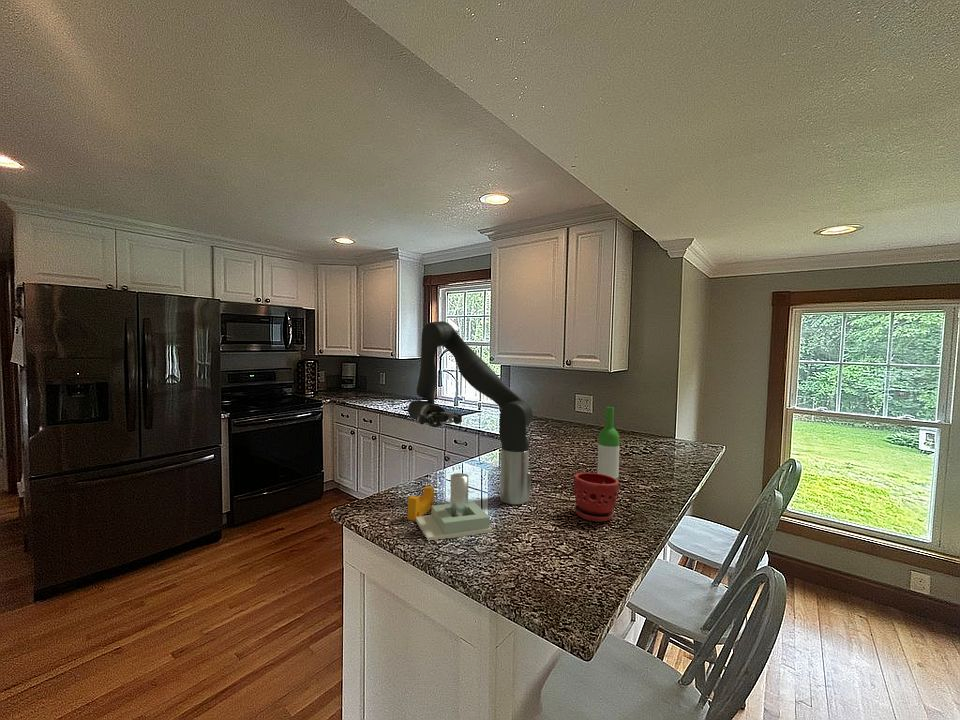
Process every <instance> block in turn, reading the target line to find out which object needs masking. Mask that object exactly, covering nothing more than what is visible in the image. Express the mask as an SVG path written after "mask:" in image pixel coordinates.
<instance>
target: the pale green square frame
mask: <svg viewBox="0 0 960 720" xmlns="http://www.w3.org/2000/svg"><path fill="white" fill-rule="evenodd" d="M450 504H451V503H444V504H435V505H433V506H432V508H431V513H430V515H422V516H420V517H416V521H415V522H416V523H417V525H418V527H419V529H420V530H422V531H421V533H422V534H423V536H424V535H425V536H424V537H426V538H427V539H426V538H425V539H426V541H427V540H428V541H427V542H431V541H430V540H434V541H439V540H438V539H441V540H447V539H446V538H448V539H454V538H460V537H468V536H474V535H475V536H476V535H482V534H488V533H492V532H493V529H492V527H491V524H490V523H491V522H490V521H491V517H490V516H489V515H488V514H487V512H485V511H484V510H483V509H482V508H481V507H480V506H479V505H478V504H477V503H476V502H475V501H474V500H470V501H469V500H468V515H467V516H459V517H451V516H450Z"/></svg>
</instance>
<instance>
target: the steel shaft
mask: <svg viewBox="0 0 960 720" xmlns="http://www.w3.org/2000/svg"><path fill="white" fill-rule="evenodd" d="M468 502H469V475H468V474H467V473H461V472H460V473H459V472H457V473H452V474H450V503H449V504H450V516H451V517H459V516H467V515H468Z"/></svg>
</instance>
